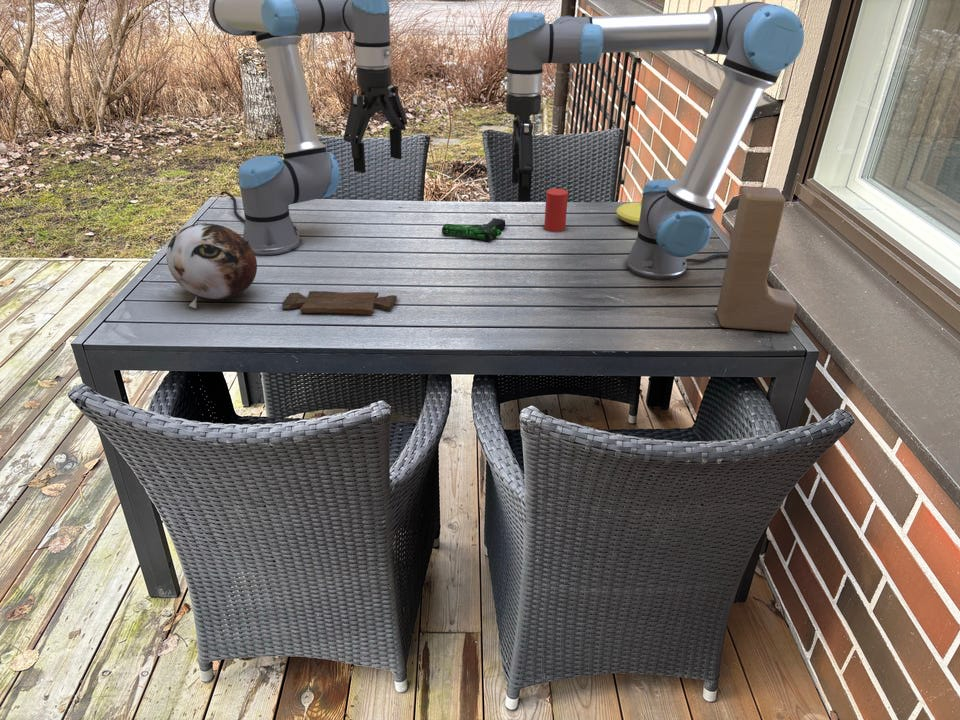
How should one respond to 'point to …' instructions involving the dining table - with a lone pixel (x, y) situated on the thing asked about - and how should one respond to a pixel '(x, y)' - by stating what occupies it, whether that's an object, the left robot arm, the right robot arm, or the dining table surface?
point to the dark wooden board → (338, 302)
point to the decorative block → (754, 266)
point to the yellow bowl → (630, 212)
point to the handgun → (476, 230)
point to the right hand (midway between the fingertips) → (520, 191)
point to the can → (556, 210)
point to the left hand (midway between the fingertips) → (378, 164)
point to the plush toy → (211, 261)
